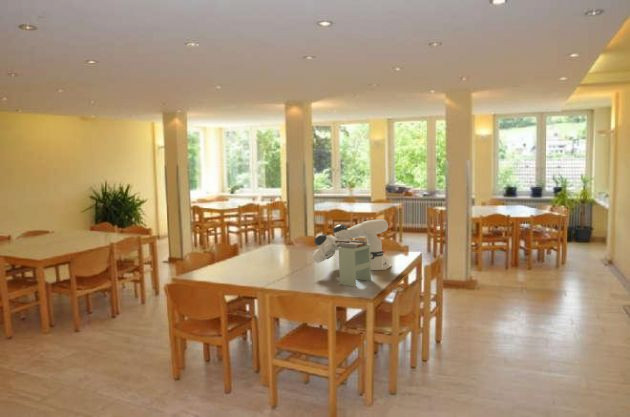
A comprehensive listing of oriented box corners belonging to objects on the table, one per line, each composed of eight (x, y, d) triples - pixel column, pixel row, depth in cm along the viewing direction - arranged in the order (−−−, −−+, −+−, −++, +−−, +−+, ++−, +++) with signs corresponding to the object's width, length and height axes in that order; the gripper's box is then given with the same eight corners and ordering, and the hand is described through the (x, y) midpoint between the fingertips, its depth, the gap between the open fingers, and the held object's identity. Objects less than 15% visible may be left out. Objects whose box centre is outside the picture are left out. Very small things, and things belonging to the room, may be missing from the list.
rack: (356, 278, 374) (355, 235, 371) (371, 280, 365) (369, 237, 362) (339, 284, 359) (338, 239, 356) (354, 286, 350) (353, 241, 347)
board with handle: (341, 243, 372) (340, 239, 372) (364, 245, 359) (363, 241, 359) (332, 245, 365) (332, 241, 365) (355, 247, 351) (355, 243, 351)
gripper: (339, 251, 381) (352, 243, 372) (322, 256, 365) (335, 248, 357) (336, 244, 382) (348, 236, 374) (318, 248, 367) (331, 240, 358)
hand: (341, 242), depth 365 cm, fingers closed on board with handle, 3 cm apart
